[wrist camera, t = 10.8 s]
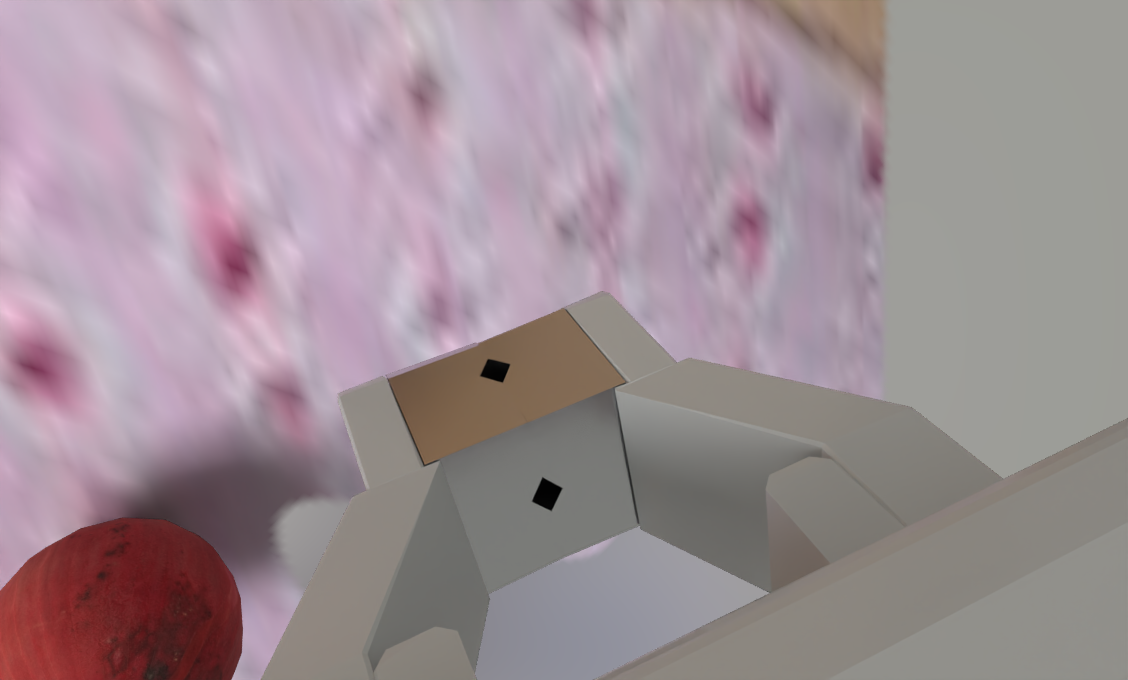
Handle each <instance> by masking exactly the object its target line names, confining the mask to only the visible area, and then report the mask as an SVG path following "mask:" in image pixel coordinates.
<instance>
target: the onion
mask: <svg viewBox="0 0 1128 680" xmlns="http://www.w3.org/2000/svg"><path fill="white" fill-rule="evenodd" d="M242 636H243V626H242V611H241V598H240V595H239V592H238V589H237V586H236V583H235V580H234V577H233V575H232V574H231V572H230V571H229V569H228V568H227V566H226V565H225V564H224V562H223V561H222V559H221V558H220V556H219V555H218V553H217V552H216V551H215V549H214V548H213V547H212V546H211V545H210V544H209V543H207V542H206V541H205V540H204V539H202V538H201V537H200V536H198V535H196V534H194V533H192V532H190V531H188V530H186V529H184V528H182V527H180V526H178V525H175V524H173V523H171V522H169V521H167V520H159V519H139V518H119V519H115V520H111V521H108V522H104V523H100V524H96V525H92V526H88V527H84V528H81V529H79V530H77V531H75V532H73V533H72V534H70V535H68V536H66V537H64V538H62V539H61V540H59V541H57V542H55V543H53V544H52V545H50V546H48V547H46V548H45V549H43V550H42V551H40V552H39V553H37V554H36V555H34V556H33V557H31V558H30V559H29V560H28V561H27V562H26V563H25V564H24V565H23V566H22V567H21V568H20V570H19V571H18V572H17V573H16V574H15V575H14V576H13V577H12V578H11V580H10V581H9V582H8V583H7V584H6V585H5V586H4V587H3V588H2V590H1V591H0V680H231V679H232V677H233V675H234V672H235V670H236V667H237V664H238V661H239V659H240V656H241V653H242Z"/></svg>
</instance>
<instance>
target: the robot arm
mask: <svg viewBox="0 0 1128 680" xmlns="http://www.w3.org/2000/svg"><path fill="white" fill-rule="evenodd" d="M386 377H387V379H386V378H385V377H383V376H381V377H378V378H376V379H373V380H371V381H368V382H366V383H363V384H360V385H358V386H355V387H353V388H350V389H348V390H345V391H342V392H340V393H338V404H339V407H340V410H341V413H342V416H343V419H344V422H345V425H346V429H347V432H348V435H349V438H350V441H351V444H352V447H353V450H354V453H355V457H356V460H357V463H358V466H359V469H360V472H361V475H362V478H363V481H364V484H365V488H366V491H364V492H362V493H360V494H357V495H355V496H353V497H352V498H351V500H350V502H349V504H348V506H347V508H346V510H345V512H344V514H343V516H342V518H341V520H340V522H339V525H338V526H337V528H336V530H335V532H334V535H333V536H332V539H331V540H330V542H329V545H328V546H327V548H326V550H325V553H324V554H323V556H322V558H321V560H320V563H319V564H318V566H317V568H316V570H315V572H314V574H313V576H312V579H311V580H310V582H309V584H308V586H307V588H306V590H305V592H304V594H303V596H302V598H301V600H300V602H299V604H298V606H297V608H296V610H295V612H294V614H293V616H292V618H291V620H290V622H289V624H288V626H287V628H286V630H285V632H284V634H283V636H282V638H281V640H280V642H279V644H278V646H277V648H276V650H275V652H274V654H273V656H272V658H271V660H270V662H269V664H268V666H267V668H266V670H265V672H264V674H263V676H262V678H261V680H477V679H476V676H475V670H476V665H477V660H478V655H479V650H480V645H481V640H482V635H483V630H484V626H485V621H486V616H487V611H488V605H489V600H490V598H489V595H488V594H490V593H492V592H494V591H496V590H498V589H500V588H502V587H504V586H506V585H508V584H510V583H512V582H514V581H516V580H519V579H521V578H523V577H525V576H527V575H529V574H531V573H533V572H535V571H537V570H539V569H541V568H543V567H546V566H547V565H550V564H552V563H554V562H556V561H558V560H560V559H562V558H564V557H567V556H569V555H571V554H574V553H576V552H579V551H581V550H583V549H586V548H588V547H590V546H593V545H595V544H598V543H600V542H602V541H605V540H607V539H609V538H612V537H614V536H617V535H619V534H621V533H624V532H626V531H628V530H631V529H633V528H635V527H638V526H640V529H641V530H643V531H645V532H647V533H649V534H651V535H653V536H655V537H657V538H659V539H662V540H663V541H665V542H667V543H670V544H672V545H674V546H676V547H678V548H680V549H682V550H684V551H686V552H688V553H690V554H692V555H694V556H696V557H698V558H700V559H702V560H704V561H706V562H708V563H710V564H712V565H714V566H716V567H718V568H720V569H722V570H724V571H726V572H728V573H730V574H732V575H735V576H737V577H739V578H741V579H743V580H745V581H747V582H749V583H751V584H753V585H755V586H757V587H759V588H761V589H763V590H765V591H767V592H769V594H767V595H765V596H763V597H761V598H759V599H757V600H755V601H753V602H751V603H749V604H747V605H745V606H743V607H741V608H739V609H737V610H735V611H733V612H730V613H728V614H726V615H725V616H722V617H720V618H718V619H717V620H714V621H712V622H710V623H708V624H706V625H704V626H702V627H700V628H698V629H696V630H694V631H692V632H690V633H688V634H686V635H684V636H682V637H680V638H677V639H676V640H674V641H672V642H669V643H667V644H665V645H663V646H661V647H659V648H657V649H655V650H653V651H651V652H649V653H647V654H645V655H643V656H641V657H639V658H637V659H635V660H633V661H631V662H629V663H626V664H624V665H622V666H621V667H618V668H616V669H614V670H612V671H610V672H608V673H606V674H604V675H602V676H600V677H598V678H596V679H594V680H1128V418H1127V419H1125V420H1123V421H1121V422H1119V423H1117V424H1115V425H1113V426H1111V427H1109V428H1107V429H1105V430H1103V431H1100V432H1098V433H1096V434H1094V435H1092V436H1090V437H1088V438H1086V439H1084V440H1082V441H1080V442H1078V443H1076V444H1074V445H1072V446H1070V447H1068V448H1066V449H1064V450H1062V451H1060V452H1058V453H1056V454H1054V455H1052V456H1050V457H1047V458H1045V459H1044V460H1041V461H1039V462H1037V463H1035V464H1033V465H1031V466H1029V467H1027V468H1025V469H1023V470H1021V471H1019V472H1017V473H1015V474H1013V475H1011V476H1009V477H1007V478H1005V479H1003V478H1002V477H1000V476H999V475H998V474H996V473H995V472H994V471H993V470H991V469H990V468H989V467H988V466H986V465H985V464H984V463H982V462H981V461H980V460H978V459H977V458H976V457H975V456H973V455H972V454H971V453H970V452H968V451H967V450H966V449H964V448H963V447H962V446H961V445H959V444H958V443H957V442H955V441H954V440H953V439H952V438H950V437H949V436H948V435H947V434H945V433H944V432H943V431H942V430H940V429H939V428H938V427H936V426H935V425H934V424H932V423H931V422H930V421H929V420H927V419H926V418H925V417H924V416H922V415H921V414H920V413H919V412H917V411H916V410H915V409H913V408H912V407H908V406H904V405H899V404H894V403H891V402H886V401H882V400H877V399H873V398H868V397H864V396H859V395H855V394H850V393H846V392H841V391H837V390H832V389H828V388H823V387H819V386H814V385H810V384H805V383H801V382H796V381H792V380H787V379H783V378H778V377H774V376H769V375H765V374H760V373H756V372H751V371H747V370H742V369H738V368H733V367H729V366H724V365H720V364H715V363H711V362H706V361H702V360H697V359H693V358H688V359H685V360H683V361H680V362H678V363H677V362H676V361H675V360H674V359H673V358H672V357H671V356H670V355H669V354H668V353H667V352H666V351H665V350H664V348H663V347H662V346H661V345H660V344H659V343H658V342H657V341H656V340H655V339H654V338H653V337H652V336H651V335H650V334H649V333H648V332H647V331H646V330H645V329H644V328H643V327H642V326H641V325H640V324H639V323H638V322H637V321H636V320H635V319H634V318H633V317H632V316H631V315H630V314H629V313H628V312H627V311H626V310H625V309H624V308H623V306H622V305H621V304H620V303H619V302H618V301H617V300H616V299H615V298H614V297H613V296H612V295H611V294H610V293H607V292H603V291H601V292H599V293H597V294H594V295H592V296H590V297H587V298H585V299H582V300H580V301H578V302H575V303H573V304H571V305H568V306H566V307H564V308H561V310H558V311H556V312H553V313H551V314H548V315H546V316H543V317H541V318H538V319H536V320H534V321H531V322H529V323H526V324H524V325H521V326H519V327H516V328H514V329H511V330H509V331H506V332H504V333H502V334H499V335H497V336H494V337H492V338H489V339H487V340H484V341H482V342H479V343H473V344H470V345H468V346H465V347H462V348H459V349H456V350H454V351H451V352H448V353H445V354H443V355H440V356H437V357H434V358H432V359H429V360H426V361H423V362H420V363H418V364H415V365H412V366H409V367H407V368H404V369H401V370H398V371H396V372H393V373H390V374H387V375H386ZM387 380H388V381H387Z"/></svg>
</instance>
